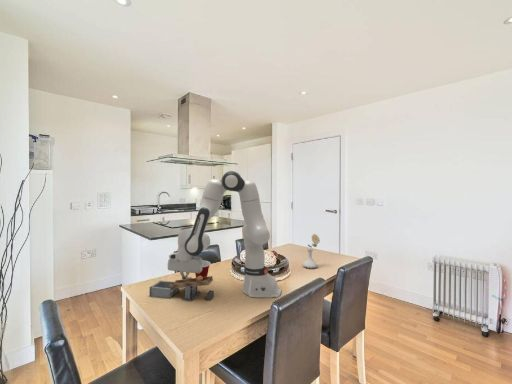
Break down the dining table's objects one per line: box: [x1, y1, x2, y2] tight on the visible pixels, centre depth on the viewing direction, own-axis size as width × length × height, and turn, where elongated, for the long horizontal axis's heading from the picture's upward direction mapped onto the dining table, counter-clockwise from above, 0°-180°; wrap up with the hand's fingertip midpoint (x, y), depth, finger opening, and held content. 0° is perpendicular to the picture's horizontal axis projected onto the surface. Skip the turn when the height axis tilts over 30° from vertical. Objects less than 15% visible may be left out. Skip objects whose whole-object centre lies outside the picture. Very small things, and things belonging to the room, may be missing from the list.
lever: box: [170, 275, 214, 289], centre depth 142 cm, size 22×14×2 cm, turn 79°
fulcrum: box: [181, 285, 202, 302], centre depth 139 cm, size 6×11×8 cm, turn 169°
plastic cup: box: [194, 259, 211, 278], centre depth 160 cm, size 11×11×12 cm
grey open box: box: [149, 280, 180, 299], centre depth 142 cm, size 12×10×5 cm
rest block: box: [205, 289, 215, 301], centre depth 137 cm, size 2×5×3 cm, turn 169°
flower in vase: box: [301, 233, 320, 269], centre depth 192 cm, size 13×11×25 cm
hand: (184, 279), depth 147 cm, fingers closed
